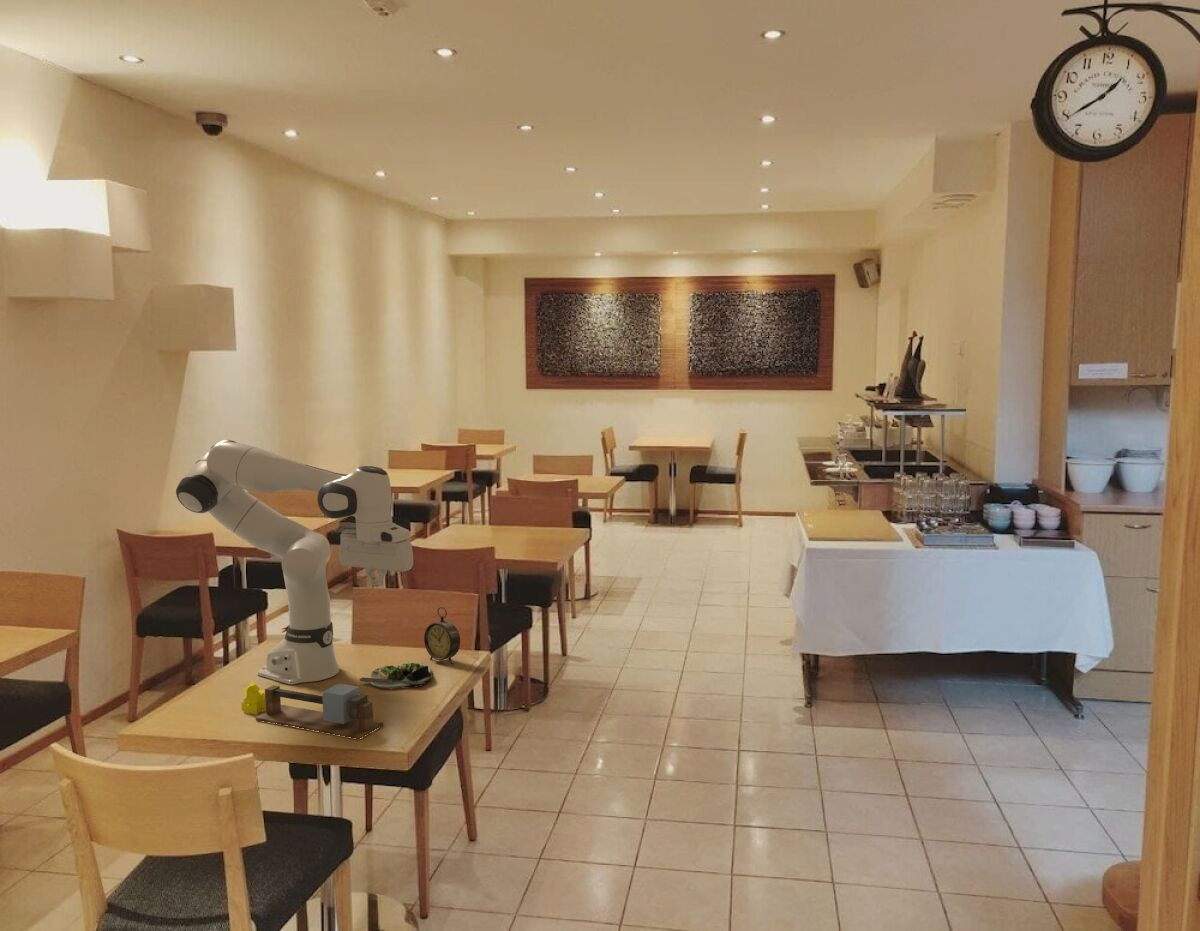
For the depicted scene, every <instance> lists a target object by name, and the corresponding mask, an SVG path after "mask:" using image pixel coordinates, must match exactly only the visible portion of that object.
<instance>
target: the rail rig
mask: <svg viewBox="0 0 1200 931" xmlns="http://www.w3.org/2000/svg"><path fill="white" fill-rule="evenodd" d="M264 691H265V702H266V711H265V712H264V713H261V714H260V715H258V716H256V717H255V721H256V720H258V721H257V722H261V721H264V722H263V723H266V722H270V723H269V724H271V723H275V724H274V725H277V724H281V725H280V726H282V725H288V726H295V727H299V728H304V729H309V730H314V731H319V732H324V733H330V734H335V735H340V736H345V737H351V738H356V739H360V738H362V737H364V736H365V735H367V734H369V733H370V732H372V731H374V730H375V729H377V728H379V727H380V728H382V727H383V726H384V722H381V721H375V720H374V705H373V704H374V702H373V701H370V700H368V699H369V698H368V694H364V693H359V695H357V696H355V697H354V698H352V699H350V700H348V701H347V711H348V714H349V717H350V718H352V720H350V721H348V722H347V723H345V724H342V723H336V722H331V721H325V720H324V719H323V711H320V710H315V709H308V708H304V707H303V708H302V707H297V706H291V705H286V704H281V702H282V700H281V698H284V699H289V700H296V701H301V702H307V703H312V704H319V705H323V697H322V695H319V694H312V693H307V692H301V691H294V690H290V689H282V688H281V686H280V685H274V684H273V685H271V686H268V687H267V688H266V687H265V689H264ZM276 723H277V724H276ZM381 726H382V727H381ZM380 728H379V729H380ZM377 730H378V729H377ZM314 731H313V732H314ZM319 732H318V733H319ZM374 732H375V731H374ZM324 733H323V734H324ZM372 733H373V732H372ZM330 734H329V735H330ZM335 735H334V736H335ZM369 735H370V734H369ZM340 736H339V737H340ZM367 736H368V735H367ZM345 737H344V738H345ZM351 738H350V739H351ZM364 738H365V737H364ZM356 739H355V740H356Z"/></svg>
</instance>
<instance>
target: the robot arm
mask: <svg viewBox="0 0 1200 931" xmlns="http://www.w3.org/2000/svg"><path fill="white" fill-rule="evenodd" d="M296 490H298V491H299V490H301V491H302V490H303V491H309V492H313V493H316V494H317V499H316V501H317V505H318V507H319V509H320V511H321V512H322V514H323V515H324V516H326V517H327V518H330V519H337V520H339V519H344V518H347V517H354V518H355V529H349V528H348V529H347V528H346V529H345V530H343V531H341V534H340V544H339V554H338V559H339V563H340V565H341V566H342V567H351V568H363V569H364V571H365V572H364V573H365V574H366V577H367V578H368V579H369V586H371V587H378V588H379V587H383V586H384V579H385V577H386V575H387V573H388V571H390V572H391V571H392V572H401V573H404V572H407V571H410V570H411V569H412V568H413V566H414V553H413V545H412V543H411V541H410V540H409V539H410V537H411V531H410V530H409V529H407V528H405V527H403V526H400V525H398V524H396V523H395V522H393V515H392V513H391V506H392V502H393V500H392V488H391V481H390V477H389V474H388V472H387V471H386V470H385V469H384V468H381V467H378V466H373V465H369V466H368V465H361V466H359V467H357V468H355V470H353V471H352V472H350V473H349V474H344V473H337V472H334V471H331V470H327V469H323V468H320V467H316V466H313V465H308V464H305V463H302V462H299V461H296V460H292V459H289V458H287V457H284V456H282V455H279V454H276V453H273V452H271V451H268V450H265V449H263V448H259V447H256V446H252V445H249V444H245V443H240V442H237V441H235V440H231V439H222V440H219V441H217V442H216V443H215V444H213V445H212V446H211V447H210V449H209V450H208V451H206V452H205V453H204V454H202V456H201V457H200V458H199V459H197V461H196V462H195V463H194V465H192V467H191V468H190V470H189V471H188V472H187V473H186V475H185V477H183V478H181V480H180V481H179V483H178V485H177V486H176V490H175V495H176V497H177V500H178V501H179V503H180V504H181V505H182V506H183V507H184V508H185V509H187V510H188V511H190V512H193V513H196V514H206V513H209V514H210V515H211V516H212V517H213V518H214V519H215V520H216V521H217V522H218V523H219V524H221V525H222V526H223V527H224V528H226V529H227V530H229V531H230V532H231V533H233V534H235V535H236V536H237V537H239V538H241V539H242V540H244V541H245V542H247V543H248V544H249V545H251V546H253V547H254V548H256V549H257V550H260V551H263V552H267V553H269V554H271V555H273V556H276V557H278V558H280V559H281V569H282V574H283V579H284V586H285V590H286V595H287V602H288V621H289V624H288V625H287V626H285V627H283V628H281V630H282V631H281V633H285V636H284V638H283V639H282V640H281V641H280V642H278V643H277V644H276V645H275V646H273V647H272V648H271V649H270V650H269V651H268V653H267V656H266V662H265V664H266V665H263V666H262V667H260V668H259V669H258V671H257V675H258V676H260V677H263V678H267V679H270V680H274V681H277V682H280V683H283V684H287V685H297V684H301V683H309V682H311V683H312V682H318V681H319V682H320V681H323V680H326V679H330V678H332V677H334V676H336V675H338V674H339V672H340V668H339V666H338V662H337V659H336V658H337V657H336V653H335V648H334V643H333V639H334V637H333V636H334V626H333V625H334V624H333V622H332V619H331V618H332V616H331V615H332V614H331V594H330V591H329V587H328V582H327V573H326V565H327V563H328V562H329V561H330V558H331V555H332V549H331V548H332V546H331V544H330V542H329V540H328V538H327V537H326V536H325V535H323V534H321V533H319V532H316V531H314V530H313V529H310V528H309V527H307V526H305V525H303V524H301V523H299V522H297V521H294V520H292V519H290V518H288V517H286V516H285V515H283V514H281V513H280V512H278V511H277V510H275V509H274V508H272V507H271V506H269V505H268V504H266V503H264V502H263V501H261V500H260V499H259V498H257V497H256V496H254V495H252V494H251V493H248V492H247V491H249V492H253V493H258V494H259V493H261V494H273V493H281V492H287V491H296ZM375 570H376V572H377V574H378V576H377V577H376V575H375V573H374V571H375Z"/></svg>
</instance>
